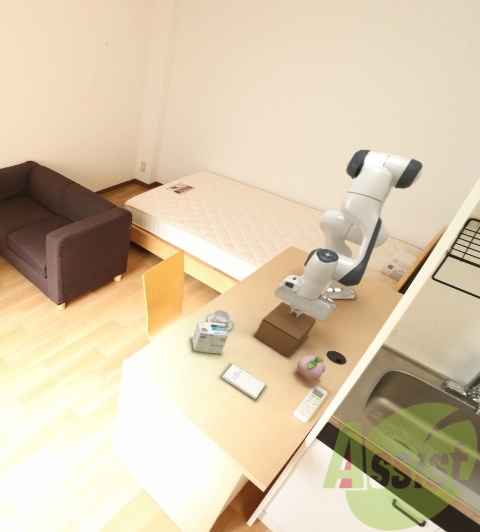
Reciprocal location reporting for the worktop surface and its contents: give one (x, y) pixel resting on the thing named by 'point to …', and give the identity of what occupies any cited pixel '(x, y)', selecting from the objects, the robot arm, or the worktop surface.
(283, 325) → the carton
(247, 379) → the hard drive
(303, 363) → the decorative fruit
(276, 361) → the worktop surface
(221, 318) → the teacup
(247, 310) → the worktop surface
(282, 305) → the flap
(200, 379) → the worktop surface
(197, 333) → the light bulb box
